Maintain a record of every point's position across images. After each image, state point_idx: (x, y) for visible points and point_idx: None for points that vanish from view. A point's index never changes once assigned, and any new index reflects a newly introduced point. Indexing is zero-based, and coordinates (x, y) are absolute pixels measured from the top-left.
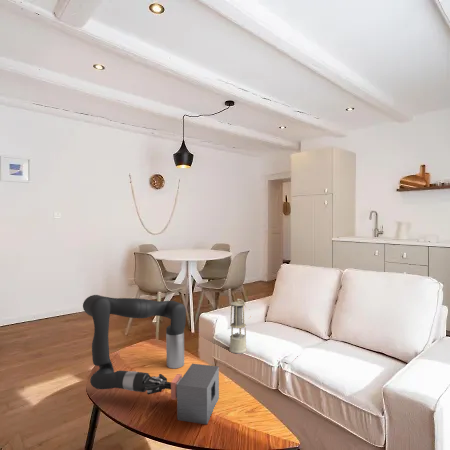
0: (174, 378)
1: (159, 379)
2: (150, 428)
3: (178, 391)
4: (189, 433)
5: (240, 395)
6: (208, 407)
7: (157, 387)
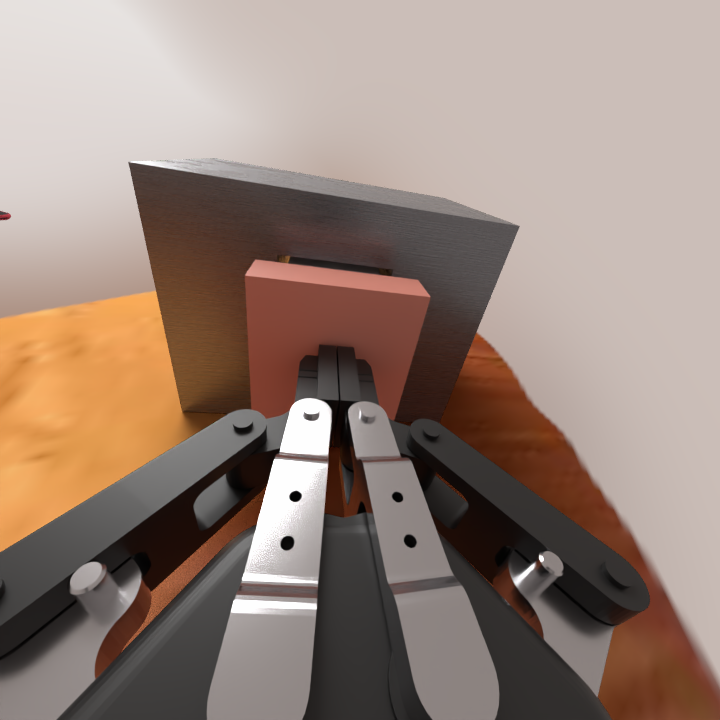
0: (349, 285)
1: (313, 477)
2: (592, 529)
3: (495, 272)
4: (476, 373)
5: None
6: None
7: (473, 461)
